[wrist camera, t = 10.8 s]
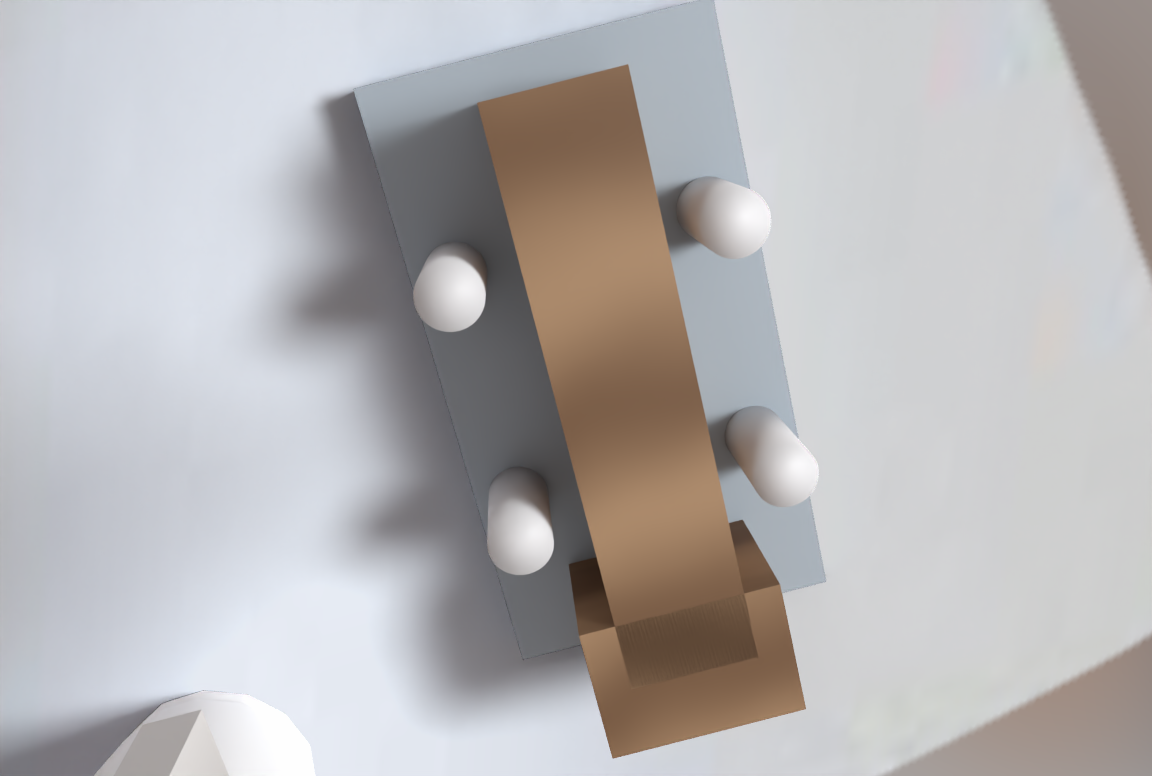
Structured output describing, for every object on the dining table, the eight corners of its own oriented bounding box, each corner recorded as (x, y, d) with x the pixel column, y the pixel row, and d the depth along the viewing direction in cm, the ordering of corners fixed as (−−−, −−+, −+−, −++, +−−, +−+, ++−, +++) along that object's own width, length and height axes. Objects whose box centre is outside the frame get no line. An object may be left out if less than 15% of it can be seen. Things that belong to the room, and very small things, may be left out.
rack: (358, 89, 28) (331, 87, 24) (704, 0, 28) (744, -19, 24) (522, 640, 33) (525, 726, 29) (815, 565, 33) (864, 639, 29)
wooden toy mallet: (444, 111, 28) (435, 113, 23) (644, 60, 28) (670, 53, 23) (598, 673, 33) (612, 758, 28) (766, 630, 33) (805, 708, 28)
